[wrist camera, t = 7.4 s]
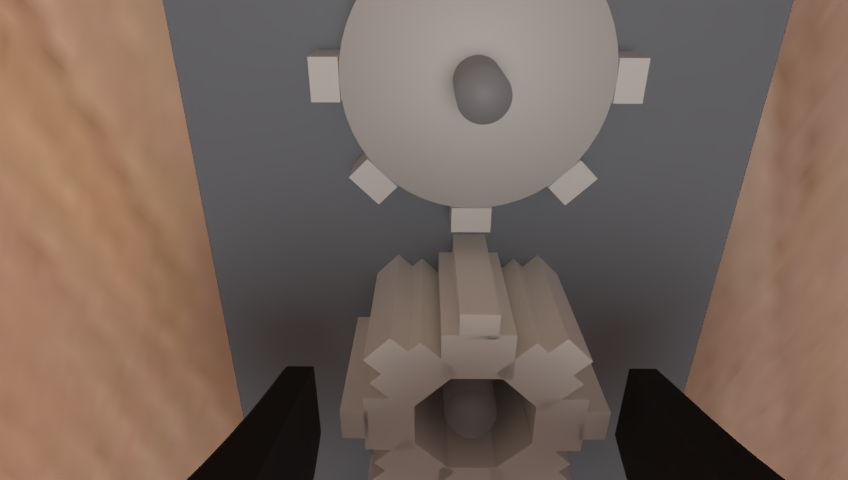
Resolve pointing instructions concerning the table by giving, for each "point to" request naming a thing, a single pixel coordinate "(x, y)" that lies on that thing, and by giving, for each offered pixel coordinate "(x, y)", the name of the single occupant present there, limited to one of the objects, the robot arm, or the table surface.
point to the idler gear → (471, 369)
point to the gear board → (469, 171)
